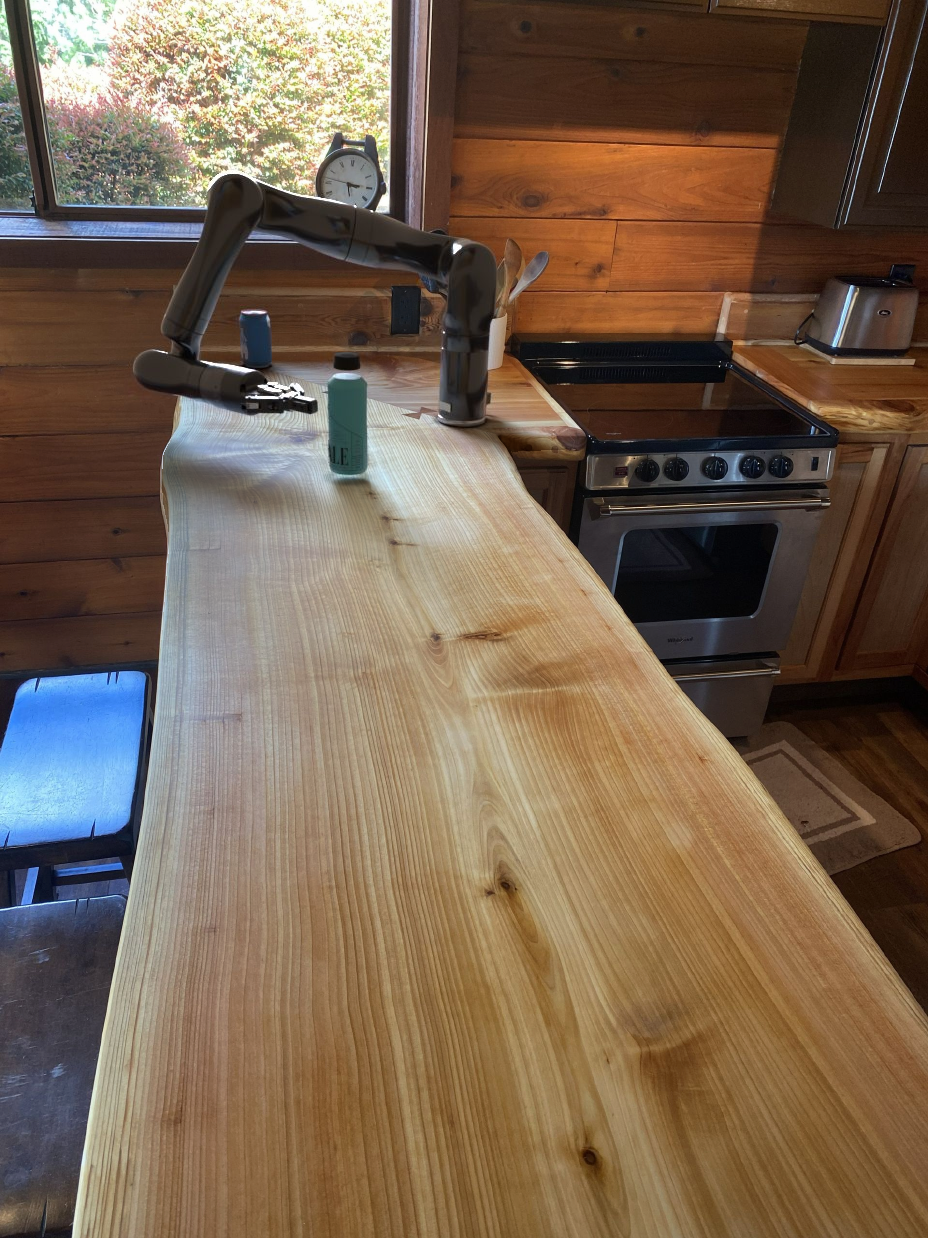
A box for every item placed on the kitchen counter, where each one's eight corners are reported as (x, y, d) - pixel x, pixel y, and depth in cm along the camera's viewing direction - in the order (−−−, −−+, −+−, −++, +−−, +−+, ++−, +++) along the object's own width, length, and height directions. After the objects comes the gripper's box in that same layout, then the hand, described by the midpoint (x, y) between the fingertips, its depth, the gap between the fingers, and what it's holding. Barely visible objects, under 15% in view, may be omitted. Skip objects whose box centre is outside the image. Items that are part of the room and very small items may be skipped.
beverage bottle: (371, 472, 150) (372, 350, 140) (364, 486, 144) (363, 359, 135) (333, 469, 150) (331, 347, 141) (324, 482, 145) (321, 356, 135)
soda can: (277, 363, 213) (274, 310, 207) (264, 369, 207) (261, 315, 201) (249, 360, 214) (246, 307, 208) (236, 366, 208) (233, 312, 202)
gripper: (203, 373, 145) (287, 392, 138) (259, 359, 156) (339, 376, 148) (207, 419, 149) (289, 439, 142) (261, 402, 159) (340, 420, 152)
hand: (315, 407), depth 145 cm, fingers closed
